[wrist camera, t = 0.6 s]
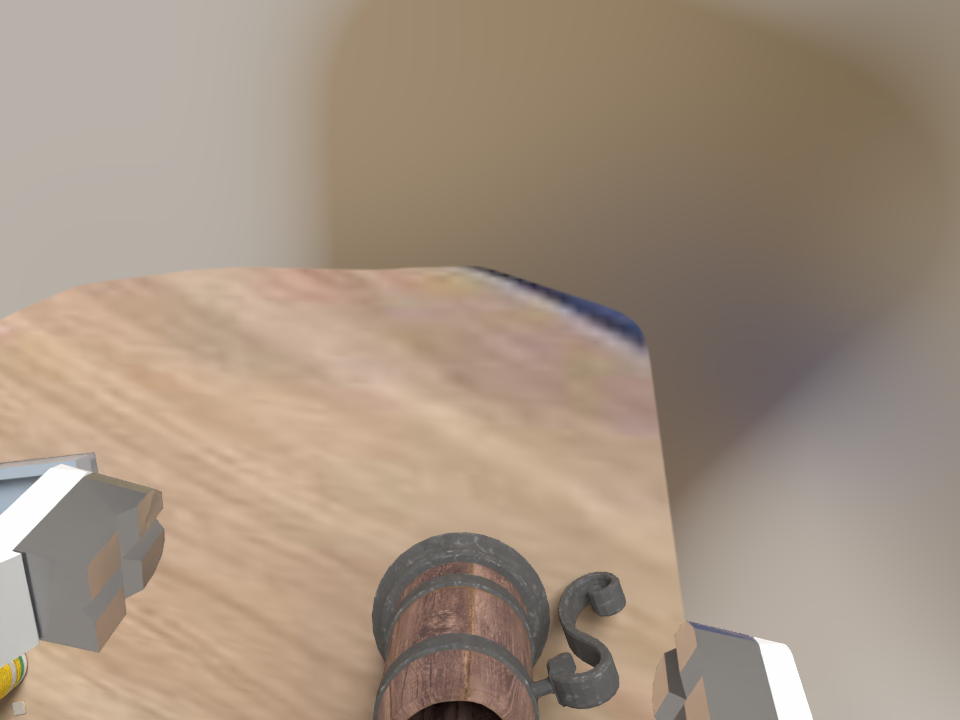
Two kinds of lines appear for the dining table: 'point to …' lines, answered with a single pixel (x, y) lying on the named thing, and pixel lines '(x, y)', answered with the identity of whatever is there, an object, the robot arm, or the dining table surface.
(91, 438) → the dining table surface
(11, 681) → the supplement bottle
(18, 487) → the tray
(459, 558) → the tankard
